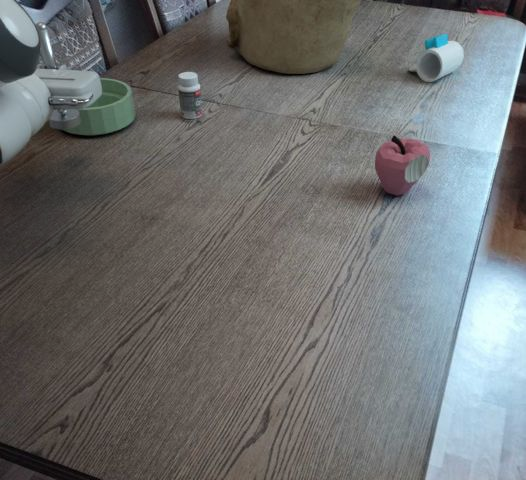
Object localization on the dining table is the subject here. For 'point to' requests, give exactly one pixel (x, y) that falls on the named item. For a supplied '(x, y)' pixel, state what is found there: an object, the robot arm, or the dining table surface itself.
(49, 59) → the metal stand
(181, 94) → the pill bottle
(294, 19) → the ceramic vessel
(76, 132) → the bowl
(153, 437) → the dining table surface
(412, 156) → the apple
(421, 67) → the mug
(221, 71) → the dining table surface
